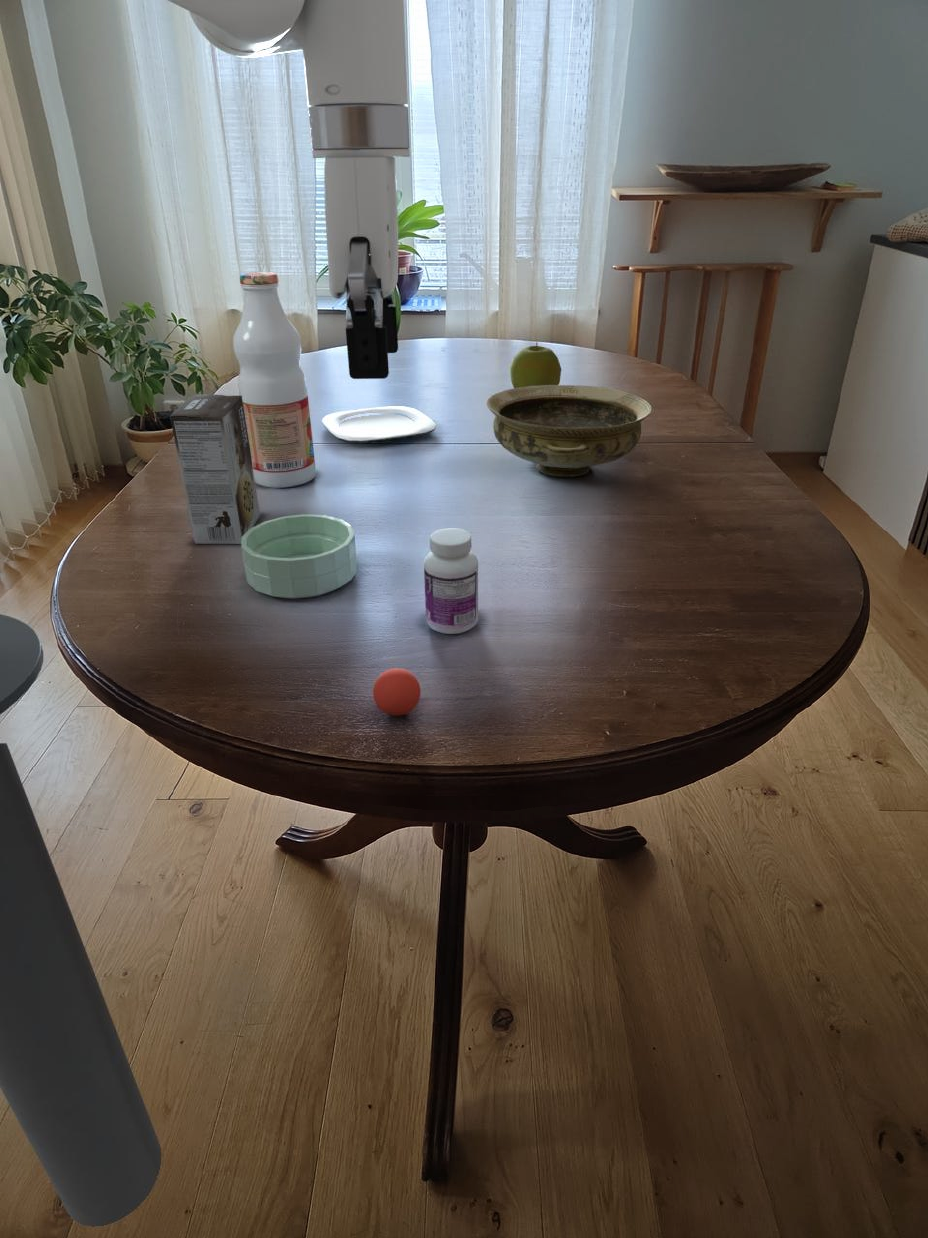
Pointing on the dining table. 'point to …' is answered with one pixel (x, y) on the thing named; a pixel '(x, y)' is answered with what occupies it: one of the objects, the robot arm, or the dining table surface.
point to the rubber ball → (396, 691)
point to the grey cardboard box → (216, 467)
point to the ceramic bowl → (567, 425)
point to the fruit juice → (273, 387)
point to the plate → (378, 424)
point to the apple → (535, 367)
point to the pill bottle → (451, 582)
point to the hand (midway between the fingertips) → (375, 364)
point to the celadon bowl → (299, 555)
